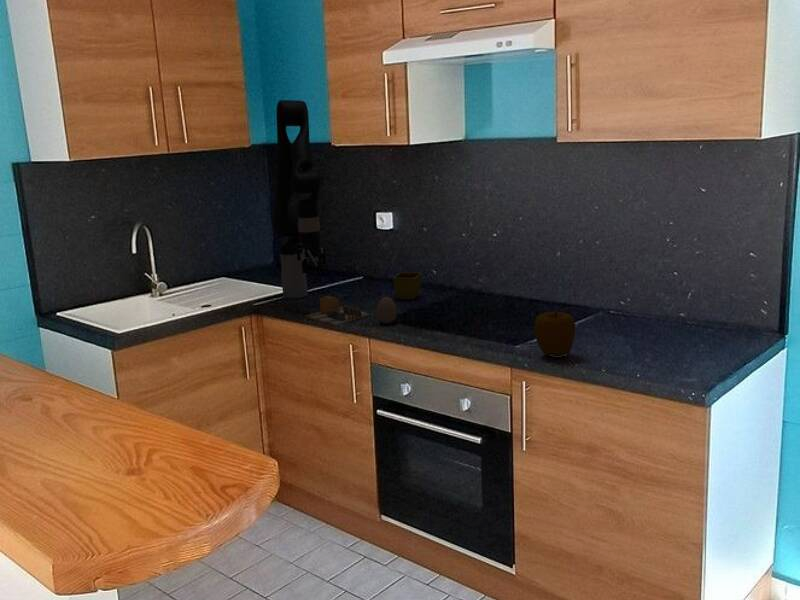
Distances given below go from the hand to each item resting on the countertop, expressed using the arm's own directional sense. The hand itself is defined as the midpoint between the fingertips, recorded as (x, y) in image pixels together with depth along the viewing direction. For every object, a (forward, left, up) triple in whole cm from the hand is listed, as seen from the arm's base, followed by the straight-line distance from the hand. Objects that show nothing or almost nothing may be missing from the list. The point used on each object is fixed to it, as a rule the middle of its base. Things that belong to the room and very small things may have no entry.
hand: (312, 274), depth 287 cm
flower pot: (+12, +34, -14) cm, 39 cm away
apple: (+99, +14, -14) cm, 101 cm away
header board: (+13, +1, -14) cm, 19 cm away
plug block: (+8, +1, -13) cm, 15 cm away
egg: (+34, +6, -14) cm, 37 cm away
